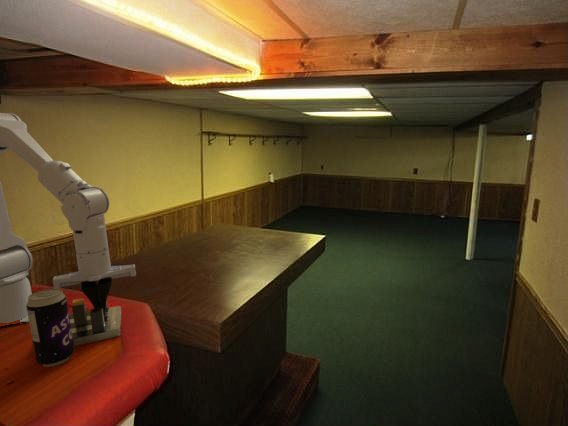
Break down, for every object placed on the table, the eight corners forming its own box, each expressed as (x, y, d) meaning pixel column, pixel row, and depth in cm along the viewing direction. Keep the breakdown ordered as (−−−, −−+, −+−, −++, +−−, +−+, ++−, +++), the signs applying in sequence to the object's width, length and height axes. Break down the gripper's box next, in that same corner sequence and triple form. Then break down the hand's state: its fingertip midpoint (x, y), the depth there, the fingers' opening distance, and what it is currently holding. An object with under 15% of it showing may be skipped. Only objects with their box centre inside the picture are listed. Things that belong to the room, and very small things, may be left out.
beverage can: (57, 370, 61) (45, 301, 59) (28, 368, 62) (16, 300, 60) (82, 351, 67) (72, 287, 65) (55, 350, 68) (44, 287, 66)
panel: (48, 325, 78) (43, 300, 77) (121, 311, 83) (117, 287, 82) (34, 355, 66) (29, 325, 65) (120, 336, 72) (116, 309, 71)
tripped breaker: (76, 321, 75) (72, 299, 74) (87, 319, 76) (84, 297, 75) (74, 325, 73) (71, 303, 72) (86, 323, 74) (83, 301, 73)
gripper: (45, 261, 67) (57, 331, 69) (132, 249, 72) (140, 315, 75) (52, 252, 74) (63, 316, 76) (132, 241, 79) (139, 302, 81)
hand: (101, 315), depth 76 cm, fingers closed
